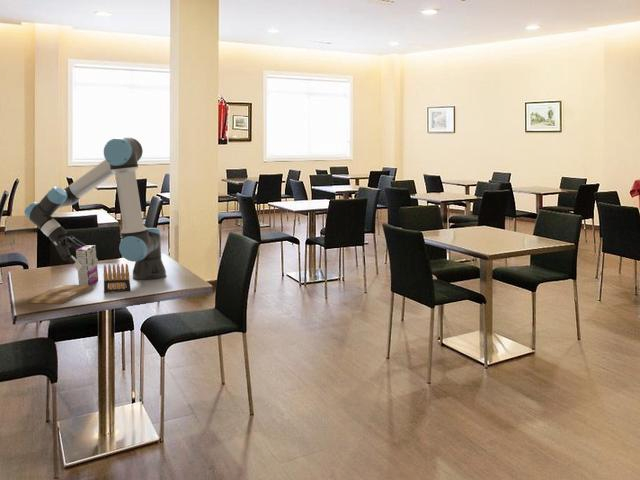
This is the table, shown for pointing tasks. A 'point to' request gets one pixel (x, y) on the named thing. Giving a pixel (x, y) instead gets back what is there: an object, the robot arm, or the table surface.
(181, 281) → the table surface
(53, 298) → the oak board
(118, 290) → the ammunition clip
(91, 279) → the candy bar box
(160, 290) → the table surface
